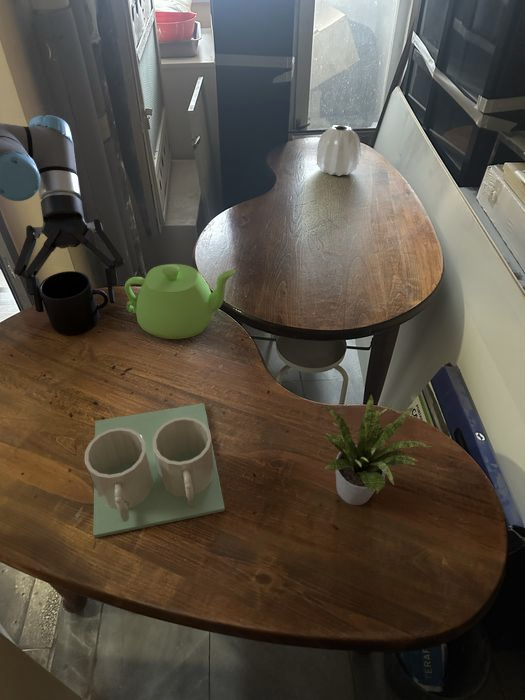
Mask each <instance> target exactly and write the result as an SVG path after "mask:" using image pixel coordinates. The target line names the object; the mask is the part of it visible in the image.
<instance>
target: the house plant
mask: <svg viewBox="0 0 525 700" xmlns="http://www.w3.org/2000/svg"><path fill="white" fill-rule="evenodd" d="M378 404H379V403H378V402H377V404H376V408H375V409H374V398H373V394H372V393H371V394H370V395H369V398H368V400H367V402H366V405H365V409H364V413H363V417H362V421H361V423H360V426H359V431H358V435H357V442H356V443H357V444H355V442H354V440H353V436H352V434H351V431H350V429H349V427H348V425H347V422H346V421H345V419H344V418H343V417H342V416H341V415H340V414H338V413H337V412H336V411H335V410H334V409H333V408H332V407H330V406H327V405H325V407H326V409H327V411H329V413H330V416H331V417H332V418H333V420H334V421H335V424H336V426H337V427H338V435H335V434H332V433H326V436H327V440H328V441H329V442H330V444H332V445H333V446H334V447H335V448H336V449H337V450H338V451H339V453H338V454H337V456H336V457H335V458H336V459H333V460H331V461H330V462H329V463H328V464H327V465H326V466H325V467H324V468H323V469H324V470H326V469H327V470H331V471H335V483H336V486H335V487H336V493H337V495H338V496H339V497H340V498H341V499H342V501H344V502H345V503H346V504H348V505H352V506H362V505H364V504H366V503H367V502H368V501H369V500H370V499H371V497H372V496H373V495H374V494H375V492H376V494H379V492H380V491H381V490H383V488H384V487H385V485H386V477H387V479H389V481H390V483H391V484H392V485H393V486H395V481H394V477H393V474H392V472H391V469H390V468H389V467H392V466H403V465H412V466H419V464H418V463H415V462H419V460H418V459H416V458H415V457H411V456H408V455H407V453H405V452H404V451H401V450H398V449H405V448H413V447H423V448H433V446H432V445H430V444H427V443H425V442H421V441H417V440H399V441H395V442H392V443H390V444H388V445H387V446H385V447H383V446H384V445H385V444H386V443H387V442H388V441H389V440H390V439H391V438H392V437H393V435H394V434H395V433H396V432H397V431H398V430H399V429H400V428H401V426H402V425H403V423H404V422H405V421H406V420H407V418H408V416H409V415H410V414H411V413H412V411H413V409H414V406H412V407H411V408H409V409H407V410H405V411H404V412H402V413H401V414H399V416H398V417H396V419H395V420H393V421H392V422H390V423H388V424H386V425H385V426H384V427H383V426H380V425H381V415H382V414H383V413H385V412H387V410H389V409H390V408H391V407H392V405H390V406H388V407H386V408H385V409H383V410H380V408H379V405H378Z"/></svg>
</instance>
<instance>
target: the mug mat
mask: <svg viewBox="0 0 525 700" xmlns="http://www.w3.org/2000/svg"><path fill="white" fill-rule="evenodd" d="M181 417H189V418H195V419H197V420H199V421H201V422H203V423H204V424H205V425H206V426H207V428H208V429H209V430H210V426H209V420H208V416H207V411H206V405H205V403H204V402H202V403H196V404H191V405H184V406H179V407H172V408H165V409H159V410H153V411H147V412H141V413H136V414H130V415H129V414H128V415H124V416H123V415H122V416H117V417H110V418H105V419H99V420H98V419H97V420H95V421H94V438H95V437H96V436H98V435H99V434H101V433H103V432H105V431H107V430H109V429H115V428H127V429H132V430H134V431H135V432H137V433H139V434H140V435H141V436H142V438H143V439H144V441H145V444H146V448H147V452H148V456H149V460H150V464H151V469H152V473H153V481H154V484H153V487H152V490H151V492H150V494H149V495H148V496H147V497H146V498H145V500H144V501H143V502H141V503H139V504H138V505H136V506H134V507H132V508H129V520H128V521H127V522H123V521H122V519H121V516H120V513H119V511H118V509H113V508H109V507H108V506H106V505H105V504H103V503H102V502H101V500H100V498H99V496H98V494H97V492H96V489H95V487H94V486H93V528H92V529H93V531H92V533H93V535H92V536H93V538H94V539H97V538H102V537H106V536H111V535H115V534H121V533H126V532H130V531H135V530H139V529H144V528H150V527H154V526H159V525H164V524H169V523H174V522H179V521H184V520H189V519H193V518H198V517H203V516H207V515H213V514H217V513H221V512H226V508H225V503H224V497H223V493H222V487H221V481H220V477H219V473H218V466H217V462H216V457H215V451H214V447H213V445H212V452H213V464H214V475H213V478H212V481H211V483H210V484H209V485H208V487H207V488H206V489H205V490H203V491H202V492H200V493H198V494H197V495H194V499H195V507H194V508H189V507H188V503H187V497H181V496H175V495H173V494H171V493H170V492H168V491H166V490H165V488H164V487H163V485H162V484H161V482H160V477H159V473H158V468H157V464H156V460H155V455H154V451H153V438H154V435H155V433H156V431H157V430H158V429H159V428H160V427H161V426H162V425H163V424H164V423H166V422H168V421H170V420H172V419H175V418H181ZM198 455H199V454H195V453H184V454H179V455H177V456H176V457H174V458H172V459H171V460H170V461H177V462H183V461H188V460H191V459H193V458H195V457H197V456H198ZM133 465H134V464H131V463H129V464H123V465H119V466H117V467H116V468H114V469H112V470H111V471H110V472H109V473H108V475H112V474H118V473H122V472H124V471H126V470H128V469H129V468H131V467H132V466H133Z"/></svg>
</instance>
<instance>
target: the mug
mask: <svg viewBox="0 0 525 700" xmlns="http://www.w3.org/2000/svg"><path fill="white" fill-rule="evenodd" d="M39 292H40V295H41V298H42V302H43V307H44V309H45V311H46V315H47V317H48V320H49V322H50V325H51V327H52V329H53V330H54V331H55V332H56V333H58V334H60V335H64V336H76V335H81V334H84V333H87V332H89V331H90V330H92V329H93V328H95V327H96V325H97V324H98V322H99V320H100V312H99V310H100V309H103V308H105V307H106V306H107V305H108V303H109V295H108V294H107V293H106V292H105V291H104V290H101V289H98V288H97V289H95V288H93V286H92V281H91V279H90V277H89V276H88V275H87V274H85V273H83V272H81V271H74V270H68V271H60V272H57V273H54V274H51V275H49V276H48V277H46V278H45V279H44V280H43V281H41V282H40V287H39ZM95 295H99V296H101V297H103V302H102V303H100V304H99V303H97V301H96V297H95Z"/></svg>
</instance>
